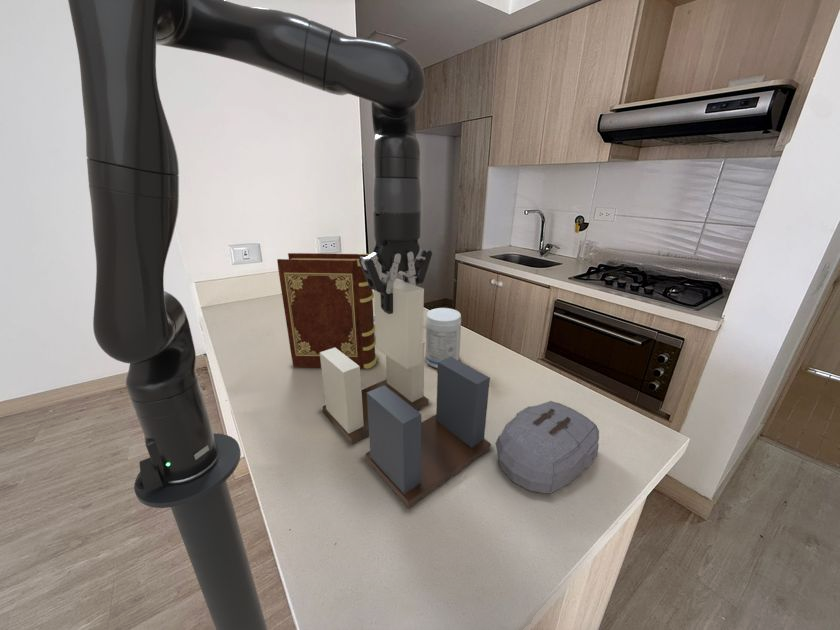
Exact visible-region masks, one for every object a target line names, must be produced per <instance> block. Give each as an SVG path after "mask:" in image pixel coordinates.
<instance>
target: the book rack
mask: <svg viewBox="0 0 840 630" xmlns="http://www.w3.org/2000/svg"><path fill="white" fill-rule="evenodd" d="M383 385H385V386H386V387H387V388H388V389H390V390H391V391H392V392H394V393H395V394H396V395H397V396H399V397H400V398H401V399H403V400H404V401H405V402H407V403H408V404H409V405H410V406H412V407H413V408H414V409H416V410H417V411H419V410H422V409H423V408H425V407H427V406H429V405H430V399H429V398H427V397H426V396H425V395H424V397H422V398H420V399H418V400H416V401H414V402H411V401H410V400H408V399H407V398H406V397H404V396H403V395H402V394H400V393H399V392H398V391H397V390H395V389H394V388H393V387H391V386H390V385H389V384H387V378H386V379H384V380H381V381H379V382H377V383H375V384H371V385H370V386H368V387H365V388H361V392H362V406H363V421H364V426H363V427H361V428H359V429H357V430H355V431H353V432H351V433H349V434H348V432H347V431H346V430H345V429H344V428H343V427H342V426H341V425H340V424H339V423H338V422H337V420H336V419H335V418H334V417H333V416H332V415H331V414H330V413H329V412H328V411H327V409H326V404H325V405H322V406H321V408H322V409H321V410H322V412H323V414H324V415H325V416H326V417H327V418H328V419H329V421H330V422H331V423H332V424H333V425H334V427H335V428H337V430H338V431H339V432H340V433H341V434H342V435H343V436H344V438H345V439H346V440H347V441H348V443H350V444H351V445H354V444H356V443H358V442H359V441H361V440H363V439H365V438H367V437H369V424H368V407H367V392H369V391H371V390H374V389H376V388H378V387H381V386H383ZM491 445H492V443H491V442H490V441H488V440H487V439H486V438H484V440H482V441H481V442H479V443H478V444H477V445H475V446H474V447H470V446H469V445H468V444H466V443H465V442H464V441H462V440H461V439H460V438H458V437H457V436H456V435H454V434H453V433H452V432H451V431H449V430H448V429H447V428H445V427H444V426H443V425H441V424H440V423H439V422H437V421H436V414H435V415H432V416H430V417H429V418H427V419H425V420H423V421H421V483H420V484H419V485H417V486H416V487H414V488H413V489H411V490H410V491H408V492H407V493H406V494H403V493H402V492H401V491H400V489H399V488H398V487H397V486H396V485H395V484H394V483H393V482H392V481H391V480H390V479H389V477H388V476H387V475H386V474H385V473H384V472H383V471H382V470H381V469H380V468H379V466H378V465H377V464H376V463H375V462H374V461H373V460H372V459H371V457H370V450H369V451H367V452H366V453H364V458H365V462H367V463H368V465H369V466H370V467H371V468H372V469H373V470H374V471H375V473H376V474H377V475H378V476H379V477H380V478H381V480H382V481H384V483H385V484H386V485H387V486H388V487H389V489H390V490H391V491H393V493H394V494H395V495H396V497H398V498H399V499H400V501H401V502H402V503H403V504H404V505H405V507H407V508H408V509H410V508H411V507H413V506H414V505H416V504H417V503H419V502H420V501H421V500H423V499H424V498H426V497H427V496H428V495H429V494H431V493H433V491H435V490H436V489H438V488H440V486H442V485H443V484H444V483H447V481H449V480H450V479H451V478H453V477H454V476H456V475H457V474H458V473H460V472H461V471H462V470H464V469H465V468H467V467H468V466H470V465H471V464H473V462H475V461H476V460H477V459H479V458H481V457H482V456H483V455H485V454H486V453H487V452H489V451H490V450H491Z"/></svg>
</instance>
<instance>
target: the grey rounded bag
mask: <svg viewBox="0 0 840 630" xmlns="http://www.w3.org/2000/svg"><path fill="white" fill-rule="evenodd" d="M599 441H600V430H599V428H598V425H597V424H596V423H595V422H594V421H593V420H591V419H590V418H589V417H588V416H585V415H584V414H582V413H581V412H579V411H578V410H575V409H574V408H571V407H569V406H567V405H565V404H562V403H560V402H556V401H552V400H549V401H545V402H542V403H540V404H537V405H531V406H526V408H523V409H522V410H520V411H519V412H517V413H516V415H515V417H513V418H512V419H511V420H510V421H509V422H507V423H506V424H505V426H504V428H503V430H502V432H501V434H499V436H498V437H497V439H496V441H495V443H494V444H495V448H496V453H497V457H498V462H499V464H500V469H501V470H502V471H503V473H504V474H505V475H506V476H507V477H508V478H509V479H510V480H511V482H513V483H514V484H516V485H518V486H520V487H522V488H524V489H525V490H528V491H530V492H537V493H542V494H543V493H544V494H551V493H553V492H555V491H557V490H560V489H561V488H563V487H564V486H567V485H569V484H570V483H571V482H572V481H574V479H576V478H577V477H578V476H579V475H580V474H581V473H582V472H583V471H584V470H585V469H588V468H589V467H590V466H592V465H593V464H594V463H595V462H594V461H595V460H596V459H597V457H598V452H599V445H600V444H599Z"/></svg>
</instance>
